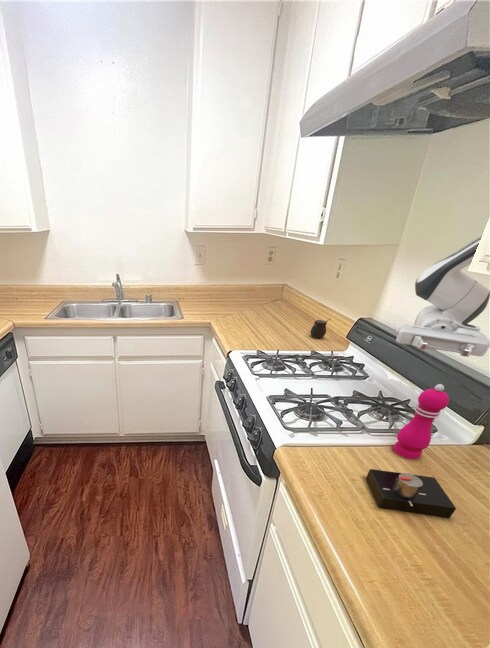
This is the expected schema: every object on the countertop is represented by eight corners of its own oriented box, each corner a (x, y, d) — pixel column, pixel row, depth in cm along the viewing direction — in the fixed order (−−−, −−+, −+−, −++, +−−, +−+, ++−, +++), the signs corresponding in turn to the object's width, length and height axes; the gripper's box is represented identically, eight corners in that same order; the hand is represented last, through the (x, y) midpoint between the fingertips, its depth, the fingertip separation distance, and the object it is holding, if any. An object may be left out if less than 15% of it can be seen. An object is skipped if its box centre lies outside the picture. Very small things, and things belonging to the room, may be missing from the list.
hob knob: (411, 486, 76) (418, 473, 74) (419, 500, 73) (427, 487, 71) (389, 483, 77) (396, 470, 75) (396, 497, 74) (404, 483, 71)
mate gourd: (309, 334, 178) (314, 314, 172) (324, 336, 176) (330, 316, 170) (309, 338, 172) (314, 318, 167) (325, 340, 170) (331, 319, 165)
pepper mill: (404, 442, 96) (437, 376, 85) (428, 457, 91) (467, 389, 80) (384, 447, 94) (416, 380, 83) (407, 462, 89) (444, 393, 78)
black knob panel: (428, 487, 81) (435, 476, 79) (452, 523, 72) (460, 512, 70) (365, 478, 83) (370, 468, 81) (380, 512, 74) (386, 501, 72)
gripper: (399, 315, 99) (403, 330, 89) (486, 327, 92) (501, 345, 82) (390, 337, 102) (393, 353, 92) (473, 350, 96) (485, 369, 85)
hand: (444, 349), depth 87 cm, fingers open, 8 cm apart
